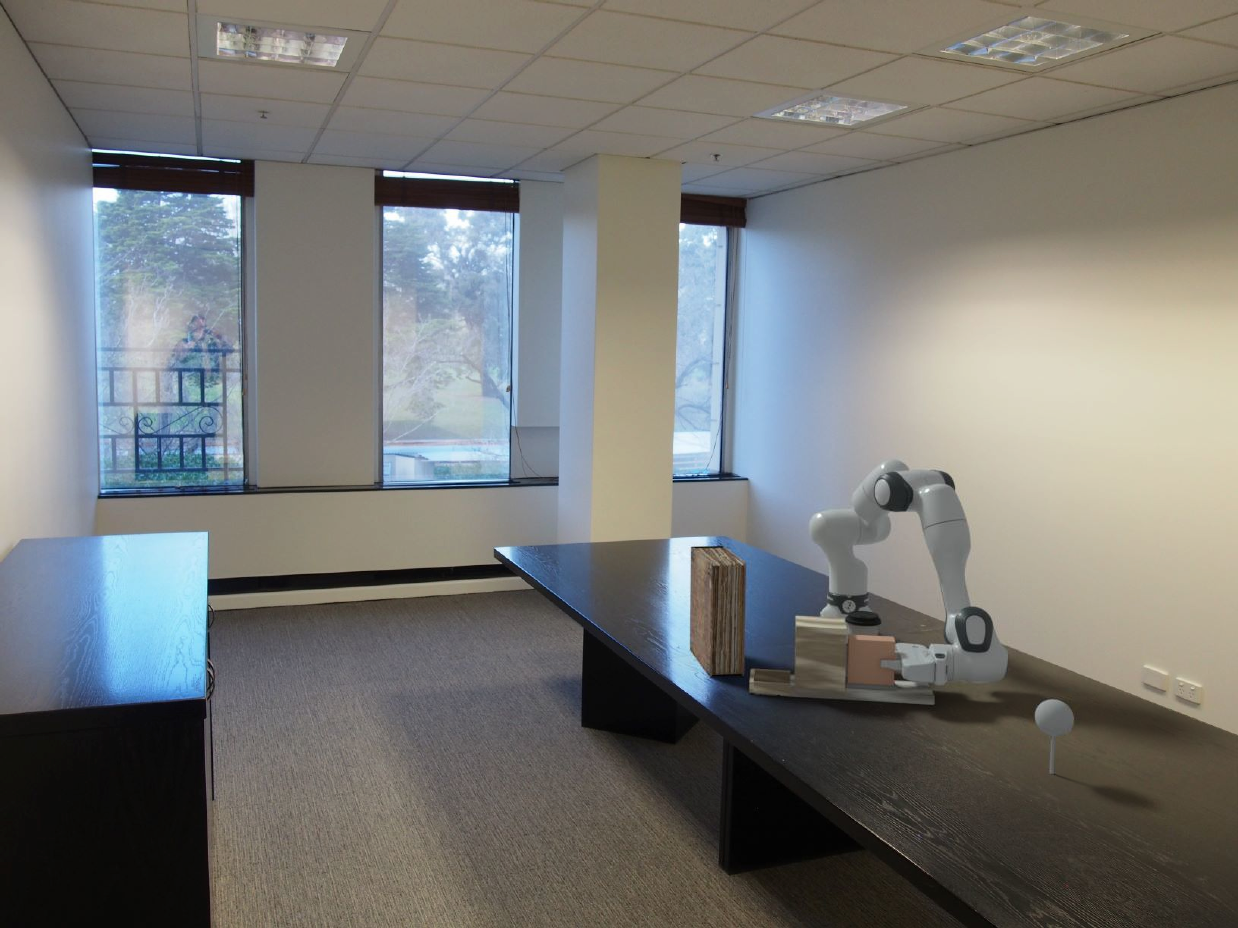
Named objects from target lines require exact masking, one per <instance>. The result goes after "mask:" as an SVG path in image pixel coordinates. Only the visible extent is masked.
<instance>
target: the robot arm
mask: <svg viewBox="0 0 1238 928" xmlns="http://www.w3.org/2000/svg"><path fill="white" fill-rule="evenodd" d="M851 505H852V507H851V508H850V507H849V508H836V509H835V508H834V509H826V510H823V511H819V512H817V513H814V514H813V515H812V516H811V518H810V520H809V524H808V533H809V536H810V538H811V540H812V542H813V543H814V544H816V545H817V546H818V547H819V548H820V549H821V551H822V552H823V554H824V556H825V558H826V560H827V565H828V577H829V578H828V579H829V580H828V584H829V585H828V590H827V594H826V602H827V605H826V606H825V607H823V609H822V610H821V611H820V613H819V617H835V618H844V620H845V619H846V617H847V616H848V613H849V612H852V611H869V612H873V611H872V609H870V608H869V601H870V597H869V592H868V584H869V583H868V581H869V580H868V579H869V578H868V577H869V576H868V575H869V569H868V566H867V565H866V563H865V562H863V560H861V559H860V558H857V557H856V556H855V553H854V549H853V548H854V546H866V545H874V544H878V543H880V542H884V541H885V540H887V539H888V538H889V536H890V534H891V532H892V531H891V530H892V523H891V519H890V517H889V515H888V514H890V512H891V513H905V512H909V513H911V512H913V513H914V512H915V513H917V514H918V516H919V518H920V519H919V520H920V525H921V529H922V532H923V533H922V534H923V537H924V540H925V544H926V547H927V551H928V552H929V555H930V558H931V560H932V563H933V566H934V568H935V570H936V574H937V577H938V582H939V585H940V586H939V587H940V592H941V595H942V600H943V605H944V609H945V622H944V624H943V625H944V627H943V638H944V642H945V643H946V644H942V643H929V648H927V647H926V646H925V645H924V644H918V643H917V644H916V643H906V642H897V643H895V661H894V660H888V659H881V662H880V664H881V667H883V668H890V669H894V671H900V673H901V674H902V675H901V676H902V678H903V679H904V680H905V681H915V682H926V683H929V684H931V683H934V685H936V686H944V685H945V684H946V683H947V682H958V681H964V682H967V683H974V684H977V683H978V684H990V683H993V684H994V683H998V682H1000V681H1002V680H1003V679H1004V678H1005V676H1006V674H1007V672H1008V669H1009V665H1010V657H1009V656H1010V655H1009V652H1008V650H1007V649H1006V648H1005V647H1004V645H1002V642H1001V641H1000V638H999V637H998V635H997V632H996V629H995V626H994V622H993V621H994V620H993V619H992V617H991V616H990V614H989V613H988V612H987V611H986V610H985V609H983V608H981V607H979V606H972V605H971V601H970V597H969V592H968V588H967V583H966V567H967V566H966V565H967V561H968V558H969V555H970V552H971V549H972V547H971V545H972V544H971V543H972V542H971V532H970V527H969V523H968V520H967V516H966V513H965V510H964V508H963V505H962V503H961V500H960V498H959V495H958V494H957V491H956V485H955V482H954V479H953V477H952V476H951V475H950V474H949V473H947V472H945V471H942V470H937V469H930V470H929V469H910V468H909V466H908V465H907V464H905V463H904V462H903V461H901V460H899V459H896V458H894V459H893V458H892V459H891V458H890V459H886V460H884V461H883V462H881V463H880V464H878V465H877V466H876V467H875V468H874V469H873V470H872V471H870V473H868V475H866V477H865V478H864V479H863V480H862V482H860V484H859V486H857V488H856V489H855V490H854V491H853V492H852V496H851ZM845 624H846V628H847V630H848V626H847V622H845ZM846 645H848V634H847V636H846Z"/></svg>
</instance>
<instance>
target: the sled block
mask: <svg viewBox="0 0 1238 928" xmlns="http://www.w3.org/2000/svg"><path fill="white" fill-rule="evenodd" d="M895 644H896V639H895V637H894V636H889V635H888V636H887V635H885V636H884V635H878V636H869V635H849V634H848V644H846V675H845V687H846V688H856V689H874V690H891V691H896V684H895V682H894V680H895V670H894V669H890V668H883V667H881V664H880V662H881V659H888V660H894V661H896V660H895Z"/></svg>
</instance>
